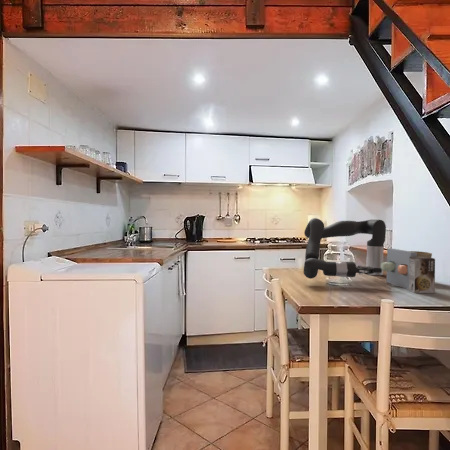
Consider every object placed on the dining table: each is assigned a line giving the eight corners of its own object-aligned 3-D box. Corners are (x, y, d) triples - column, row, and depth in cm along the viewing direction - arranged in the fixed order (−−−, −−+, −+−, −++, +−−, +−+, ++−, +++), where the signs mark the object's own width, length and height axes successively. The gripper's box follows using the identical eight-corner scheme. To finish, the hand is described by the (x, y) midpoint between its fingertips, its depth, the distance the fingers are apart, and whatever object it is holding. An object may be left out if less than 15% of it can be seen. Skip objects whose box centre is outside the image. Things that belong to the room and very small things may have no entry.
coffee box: (428, 290, 166) (429, 256, 165) (435, 293, 159) (436, 258, 159) (408, 290, 167) (409, 256, 166) (414, 293, 160) (415, 257, 160)
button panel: (386, 282, 187) (387, 248, 186) (391, 282, 187) (392, 248, 186) (409, 290, 167) (410, 252, 166) (415, 289, 167) (416, 252, 167)
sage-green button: (380, 270, 183) (380, 261, 183) (393, 270, 184) (393, 261, 184) (385, 271, 179) (385, 263, 179) (398, 271, 179) (398, 263, 179)
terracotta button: (397, 273, 174) (397, 264, 173) (410, 273, 174) (411, 264, 174) (402, 274, 169) (403, 265, 169) (416, 274, 170) (416, 265, 170)
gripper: (341, 274, 180) (376, 275, 178) (347, 279, 167) (385, 280, 165) (342, 260, 180) (377, 260, 178) (348, 263, 167) (386, 264, 165)
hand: (381, 270), depth 172 cm, fingers closed
